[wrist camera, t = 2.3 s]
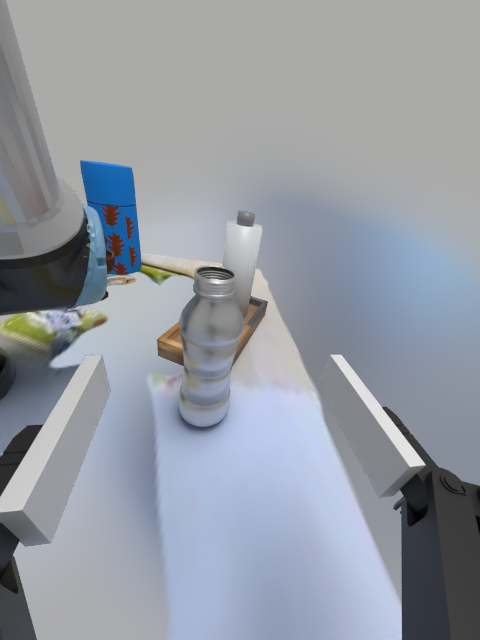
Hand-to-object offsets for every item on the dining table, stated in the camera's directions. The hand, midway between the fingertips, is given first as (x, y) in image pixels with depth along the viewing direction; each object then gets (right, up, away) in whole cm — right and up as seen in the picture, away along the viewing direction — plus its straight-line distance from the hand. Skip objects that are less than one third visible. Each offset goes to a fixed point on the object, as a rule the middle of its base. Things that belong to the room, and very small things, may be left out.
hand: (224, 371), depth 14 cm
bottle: (-1, +5, +37) cm, 38 cm away
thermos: (-33, +18, +54) cm, 66 cm away
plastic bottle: (-4, -10, +18) cm, 21 cm away
